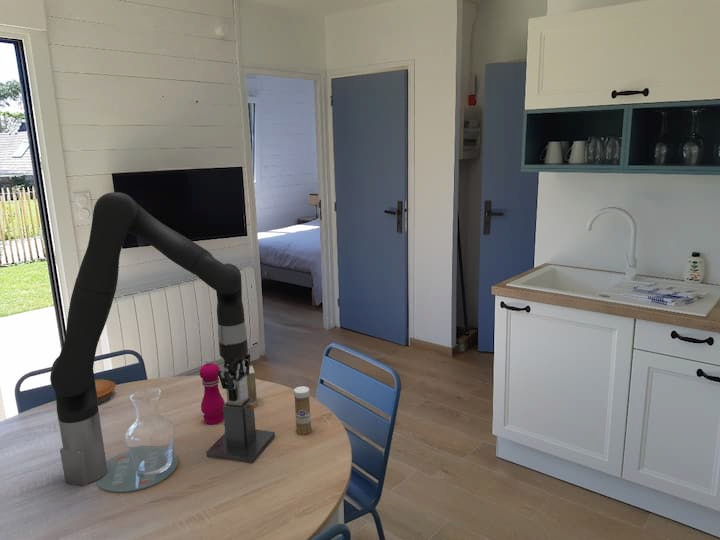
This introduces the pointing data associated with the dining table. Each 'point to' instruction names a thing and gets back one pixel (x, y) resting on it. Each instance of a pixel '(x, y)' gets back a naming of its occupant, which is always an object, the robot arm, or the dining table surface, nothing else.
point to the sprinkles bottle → (302, 410)
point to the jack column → (239, 391)
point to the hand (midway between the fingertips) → (237, 396)
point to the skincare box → (252, 385)
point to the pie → (104, 389)
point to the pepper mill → (211, 394)
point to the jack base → (240, 435)
